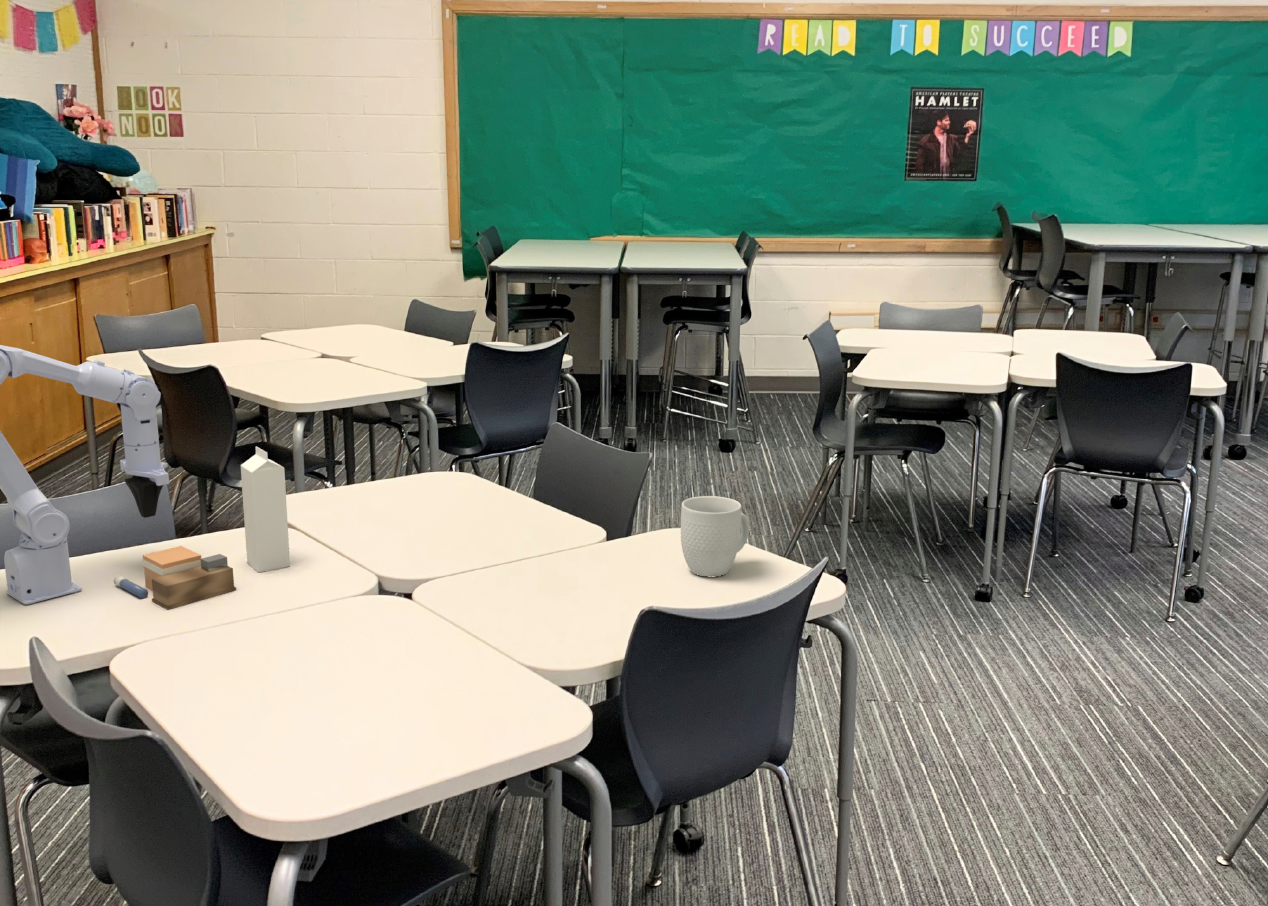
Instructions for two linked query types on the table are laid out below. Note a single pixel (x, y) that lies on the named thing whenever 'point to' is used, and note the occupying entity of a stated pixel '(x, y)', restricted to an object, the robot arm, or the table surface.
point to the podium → (191, 586)
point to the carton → (168, 563)
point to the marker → (130, 586)
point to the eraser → (214, 562)
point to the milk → (265, 513)
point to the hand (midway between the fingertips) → (148, 515)
